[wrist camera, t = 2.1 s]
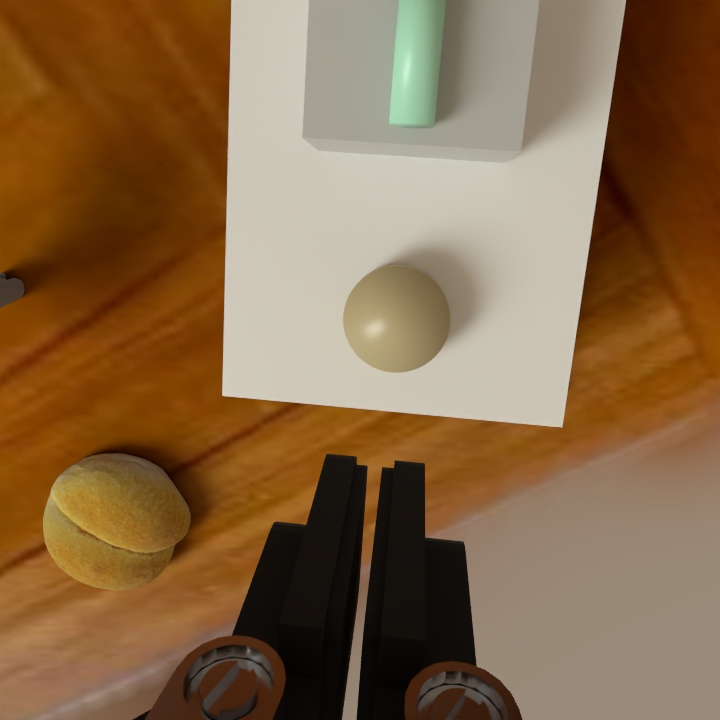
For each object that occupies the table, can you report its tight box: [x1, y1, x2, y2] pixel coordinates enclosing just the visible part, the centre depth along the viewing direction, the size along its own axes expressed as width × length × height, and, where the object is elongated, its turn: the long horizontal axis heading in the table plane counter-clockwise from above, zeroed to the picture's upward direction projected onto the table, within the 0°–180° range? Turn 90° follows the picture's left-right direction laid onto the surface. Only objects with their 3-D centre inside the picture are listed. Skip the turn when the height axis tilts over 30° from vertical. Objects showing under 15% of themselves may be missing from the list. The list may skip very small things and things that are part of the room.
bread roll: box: [43, 453, 191, 590], centre depth 36 cm, size 8×9×4 cm
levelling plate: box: [222, 0, 626, 427], centre depth 21 cm, size 20×14×6 cm
